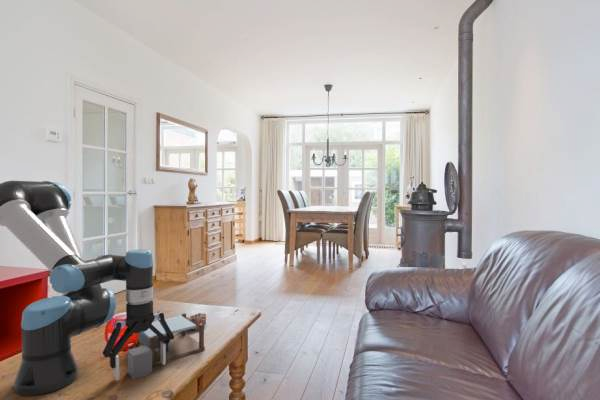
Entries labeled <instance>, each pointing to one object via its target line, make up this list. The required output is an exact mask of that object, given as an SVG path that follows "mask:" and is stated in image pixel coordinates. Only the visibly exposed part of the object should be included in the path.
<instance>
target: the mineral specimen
mask: <svg viewBox="0 0 600 400" xmlns="http://www.w3.org/2000/svg"><path fill="white" fill-rule="evenodd" d="M186 319H187V320H189V321H191V322H192V323H194V324H195V325H196V328H193V329H192V330H195V331H199V325H200V324H204V326H205V325H206V324H207V315H206V313H201V312H199V313H196V314H192V315H191V316H186Z"/></svg>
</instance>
